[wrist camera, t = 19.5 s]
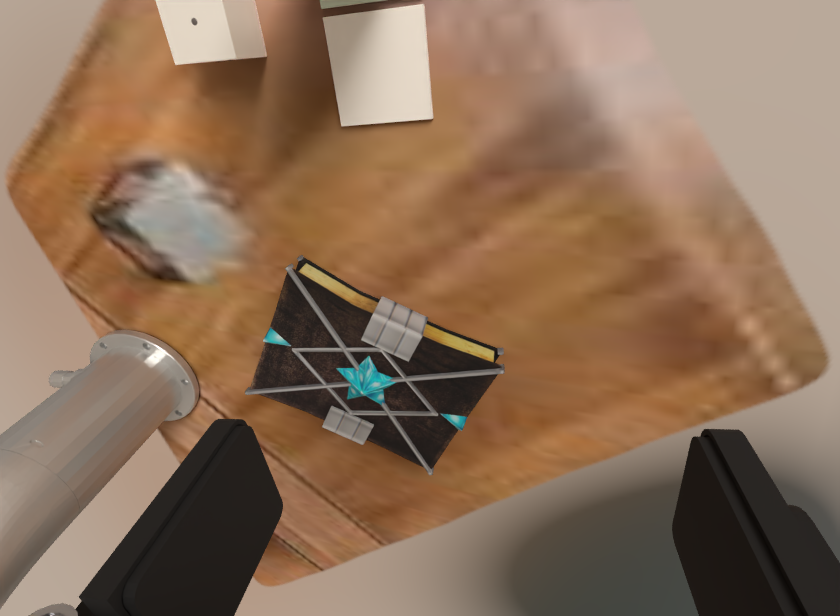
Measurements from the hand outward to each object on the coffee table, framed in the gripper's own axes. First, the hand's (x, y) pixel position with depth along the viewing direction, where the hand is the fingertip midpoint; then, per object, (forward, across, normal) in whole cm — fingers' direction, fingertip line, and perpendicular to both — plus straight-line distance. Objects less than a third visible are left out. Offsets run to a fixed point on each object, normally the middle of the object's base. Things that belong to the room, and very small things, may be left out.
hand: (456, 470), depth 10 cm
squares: (+29, +7, -11) cm, 32 cm away
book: (+30, +13, +19) cm, 37 cm away
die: (+29, +18, -12) cm, 36 cm away
